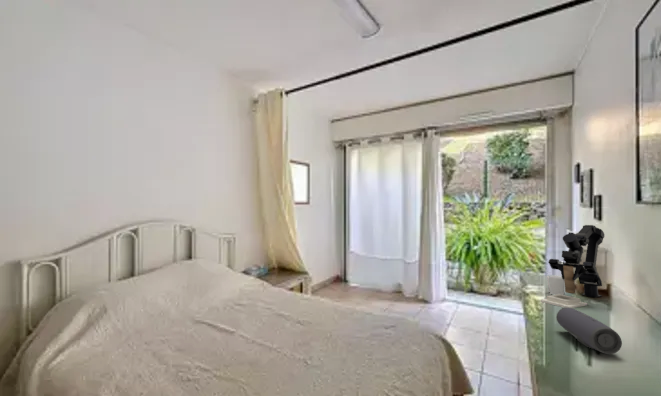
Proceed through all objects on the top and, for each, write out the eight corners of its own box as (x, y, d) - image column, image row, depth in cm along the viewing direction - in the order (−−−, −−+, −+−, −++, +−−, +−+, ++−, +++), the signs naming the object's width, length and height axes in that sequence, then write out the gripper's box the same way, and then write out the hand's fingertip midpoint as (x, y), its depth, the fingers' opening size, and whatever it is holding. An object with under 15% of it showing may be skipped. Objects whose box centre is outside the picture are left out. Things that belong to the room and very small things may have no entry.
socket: (558, 298, 166) (557, 292, 166) (587, 305, 153) (587, 298, 153) (540, 301, 161) (540, 295, 161) (569, 308, 148) (569, 302, 148)
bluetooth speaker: (625, 359, 97) (623, 327, 98) (592, 357, 99) (589, 326, 100) (582, 332, 120) (580, 306, 120) (555, 331, 122) (554, 305, 122)
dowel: (570, 291, 155) (568, 265, 155) (577, 293, 151) (575, 266, 151) (563, 291, 154) (561, 265, 155) (570, 293, 150) (568, 267, 151)
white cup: (545, 294, 175) (544, 276, 175) (553, 292, 178) (552, 274, 179) (560, 297, 168) (559, 278, 168) (568, 295, 171) (567, 277, 172)
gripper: (548, 243, 164) (541, 267, 157) (592, 245, 148) (586, 272, 141) (555, 256, 168) (548, 280, 161) (599, 260, 152) (593, 286, 145)
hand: (568, 279), depth 152 cm, fingers closed on dowel, 4 cm apart
